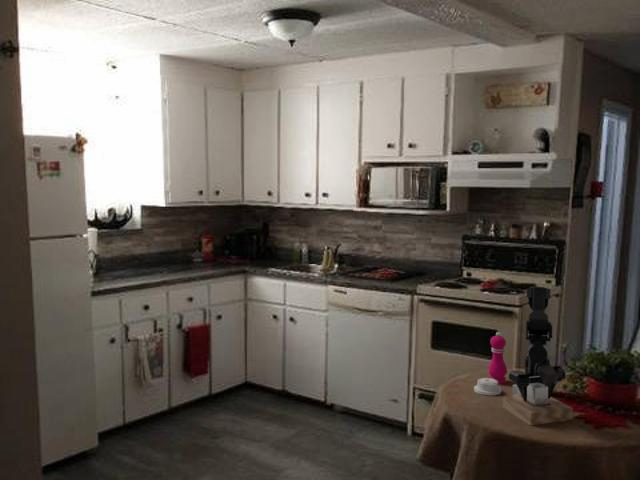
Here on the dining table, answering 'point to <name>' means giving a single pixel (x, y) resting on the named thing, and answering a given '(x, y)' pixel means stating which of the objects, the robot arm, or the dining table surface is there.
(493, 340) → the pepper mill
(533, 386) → the grey tall rectangular block
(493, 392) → the mechanical component
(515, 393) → the grey cube
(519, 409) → the hole block
